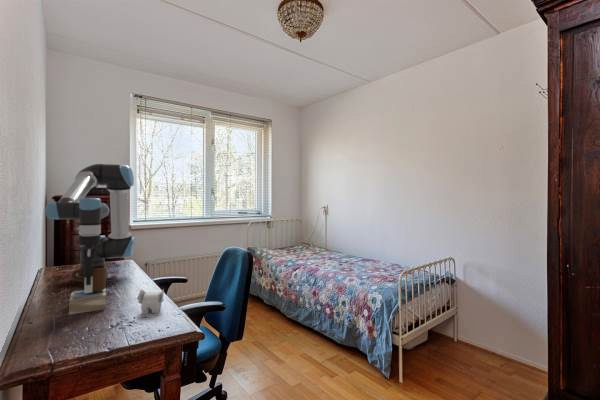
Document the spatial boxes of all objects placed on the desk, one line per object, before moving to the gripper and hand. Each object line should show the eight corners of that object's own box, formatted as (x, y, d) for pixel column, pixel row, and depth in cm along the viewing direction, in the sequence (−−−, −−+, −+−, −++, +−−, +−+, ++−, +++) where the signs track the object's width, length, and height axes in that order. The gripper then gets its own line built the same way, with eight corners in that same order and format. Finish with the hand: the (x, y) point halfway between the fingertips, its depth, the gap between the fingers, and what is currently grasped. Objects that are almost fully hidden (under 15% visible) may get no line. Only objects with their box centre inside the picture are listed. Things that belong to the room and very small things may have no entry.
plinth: (71, 305, 128) (72, 291, 128) (105, 300, 135) (105, 287, 135) (69, 314, 118) (69, 299, 118) (105, 309, 124) (105, 294, 124)
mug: (69, 295, 120) (69, 271, 120) (72, 289, 127) (72, 267, 127) (105, 291, 126) (105, 268, 126) (106, 286, 133) (106, 264, 133)
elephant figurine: (168, 305, 131) (168, 284, 131) (160, 315, 119) (160, 292, 119) (144, 305, 129) (145, 285, 129) (134, 316, 117) (134, 293, 117)
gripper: (80, 232, 133) (79, 285, 133) (76, 238, 116) (75, 298, 116) (100, 232, 137) (99, 282, 137) (100, 237, 120) (99, 295, 120)
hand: (88, 289), depth 126 cm, fingers closed on mug, 7 cm apart
